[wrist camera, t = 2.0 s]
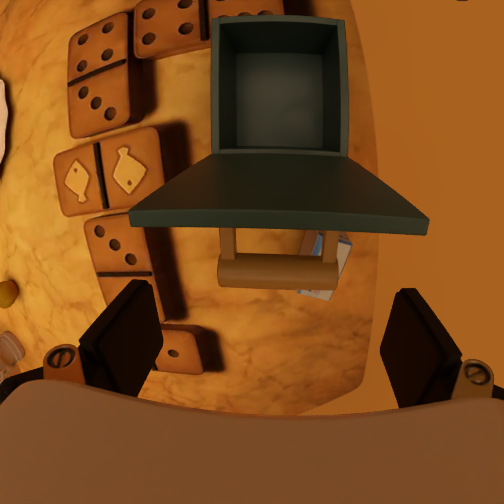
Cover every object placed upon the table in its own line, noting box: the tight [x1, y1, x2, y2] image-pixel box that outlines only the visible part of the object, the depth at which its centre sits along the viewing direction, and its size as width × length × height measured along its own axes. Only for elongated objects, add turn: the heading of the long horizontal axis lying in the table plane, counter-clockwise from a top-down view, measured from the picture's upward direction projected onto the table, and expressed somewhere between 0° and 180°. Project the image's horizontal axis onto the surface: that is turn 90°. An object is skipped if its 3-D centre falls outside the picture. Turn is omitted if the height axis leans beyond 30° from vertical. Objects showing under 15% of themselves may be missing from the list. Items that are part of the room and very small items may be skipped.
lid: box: [128, 153, 429, 291], centre depth 18 cm, size 15×13×5 cm
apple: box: [0, 281, 18, 308], centre depth 47 cm, size 6×6×8 cm
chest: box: [211, 15, 349, 157], centre depth 27 cm, size 15×13×12 cm
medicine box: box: [296, 230, 352, 301], centre depth 36 cm, size 8×4×9 cm, turn 166°
